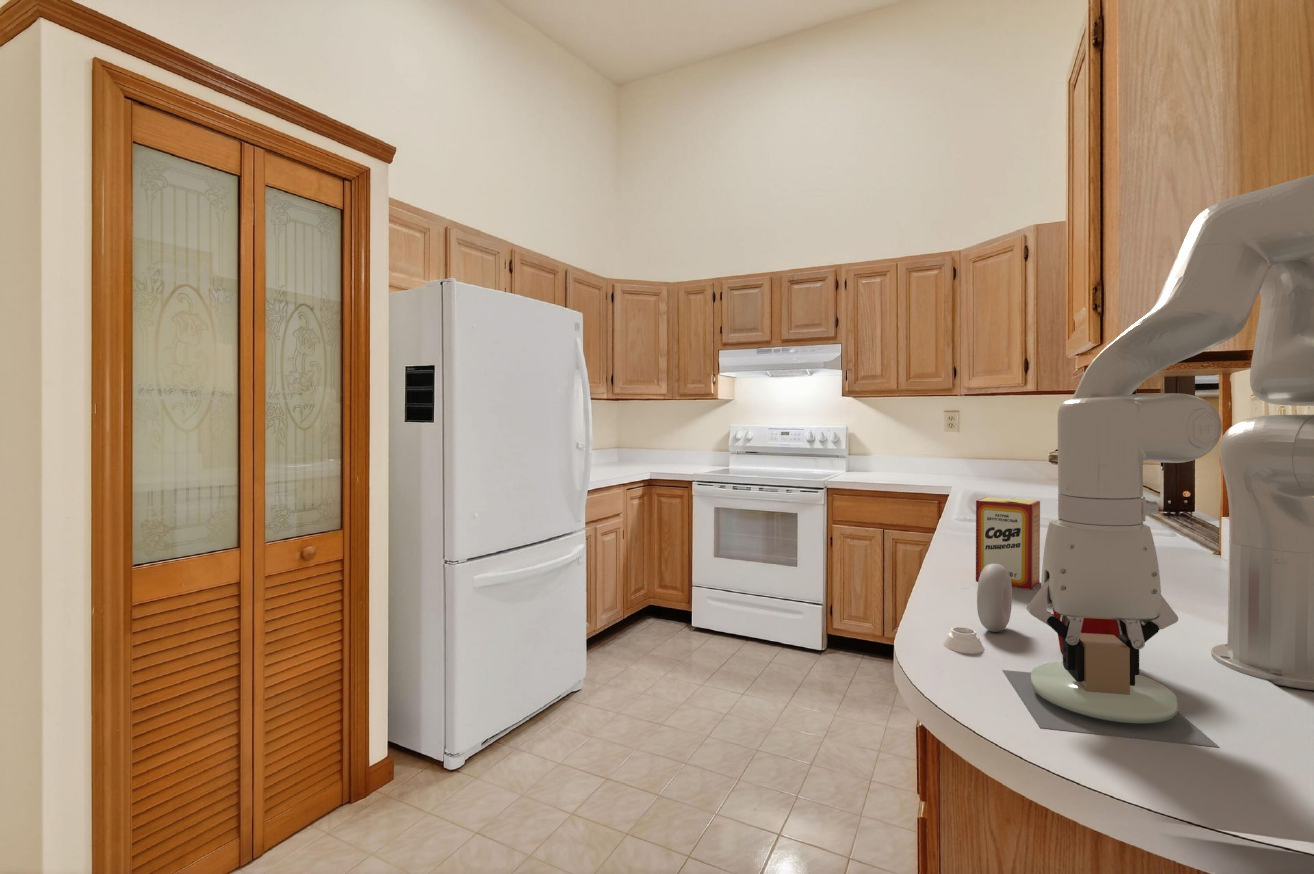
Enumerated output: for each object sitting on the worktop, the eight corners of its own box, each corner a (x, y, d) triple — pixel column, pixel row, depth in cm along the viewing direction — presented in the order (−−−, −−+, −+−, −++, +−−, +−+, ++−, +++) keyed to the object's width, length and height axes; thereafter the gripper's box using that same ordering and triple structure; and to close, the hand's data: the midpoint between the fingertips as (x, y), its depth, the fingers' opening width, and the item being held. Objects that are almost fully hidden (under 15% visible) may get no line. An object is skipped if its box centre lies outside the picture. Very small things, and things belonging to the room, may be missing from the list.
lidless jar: (969, 644, 89) (936, 646, 88) (969, 623, 89) (936, 625, 88) (992, 657, 84) (956, 659, 83) (992, 635, 84) (956, 637, 83)
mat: (1144, 687, 74) (1144, 682, 74) (1219, 753, 59) (1219, 747, 59) (1002, 674, 78) (1002, 669, 78) (1040, 733, 64) (1040, 727, 64)
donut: (989, 619, 99) (989, 556, 99) (1014, 624, 97) (1014, 559, 96) (973, 637, 91) (973, 568, 91) (1000, 642, 89) (1000, 572, 89)
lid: (1142, 675, 73) (1142, 624, 73) (1205, 729, 61) (1205, 668, 61) (1017, 666, 77) (1016, 617, 77) (1052, 716, 64) (1052, 658, 64)
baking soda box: (975, 581, 122) (976, 498, 122) (985, 574, 127) (985, 495, 126) (1031, 589, 116) (1032, 502, 115) (1039, 582, 121) (1040, 499, 120)
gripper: (1173, 507, 69) (1173, 671, 70) (1004, 505, 74) (1005, 659, 75) (1212, 518, 62) (1212, 701, 63) (1022, 516, 67) (1024, 686, 67)
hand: (1100, 677), depth 69 cm, fingers closed on lid, 4 cm apart
